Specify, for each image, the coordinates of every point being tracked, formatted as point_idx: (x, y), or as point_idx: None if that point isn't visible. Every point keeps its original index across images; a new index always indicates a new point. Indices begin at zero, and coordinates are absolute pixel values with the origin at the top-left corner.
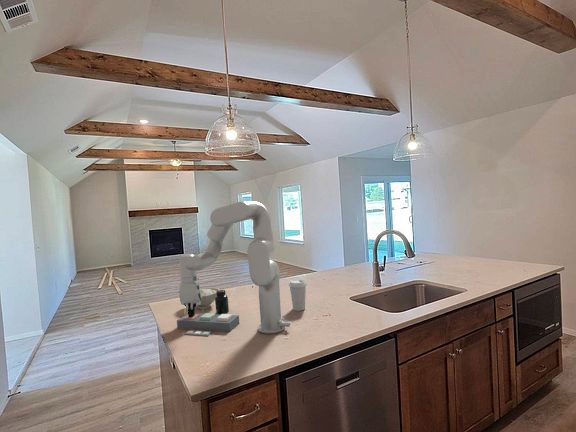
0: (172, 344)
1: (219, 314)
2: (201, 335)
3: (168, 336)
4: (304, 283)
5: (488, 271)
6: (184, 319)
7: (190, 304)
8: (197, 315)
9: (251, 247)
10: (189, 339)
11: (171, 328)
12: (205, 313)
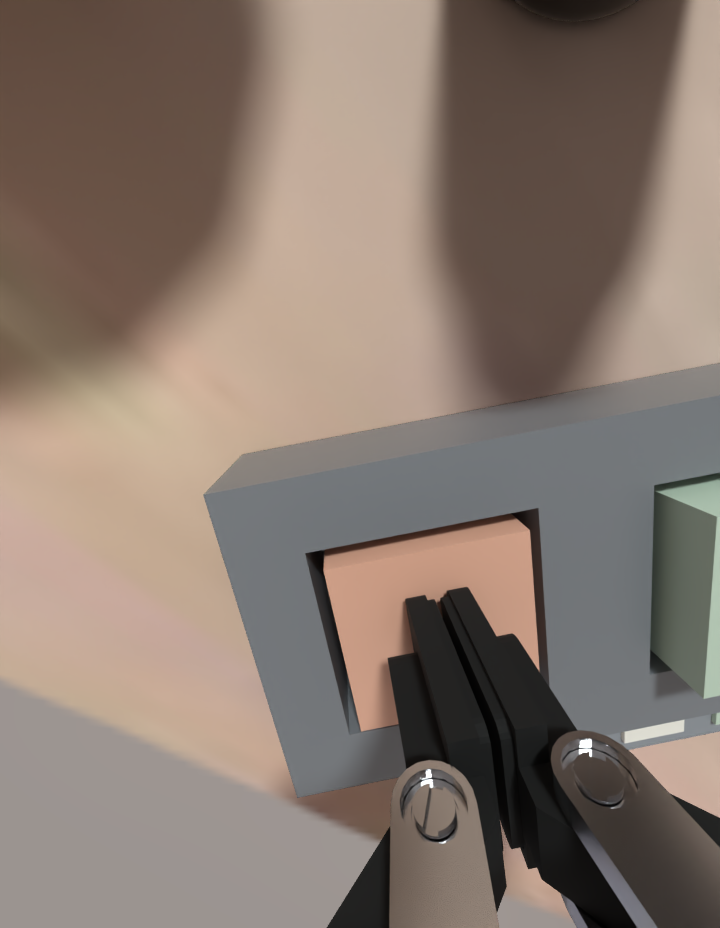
0: (540, 898)
1: (586, 20)
2: (706, 725)
3: (380, 832)
4: None
5: None
6: (393, 739)
7: (491, 921)
8: (518, 569)
9: None
10: None
11: (232, 710)
12: (717, 534)
